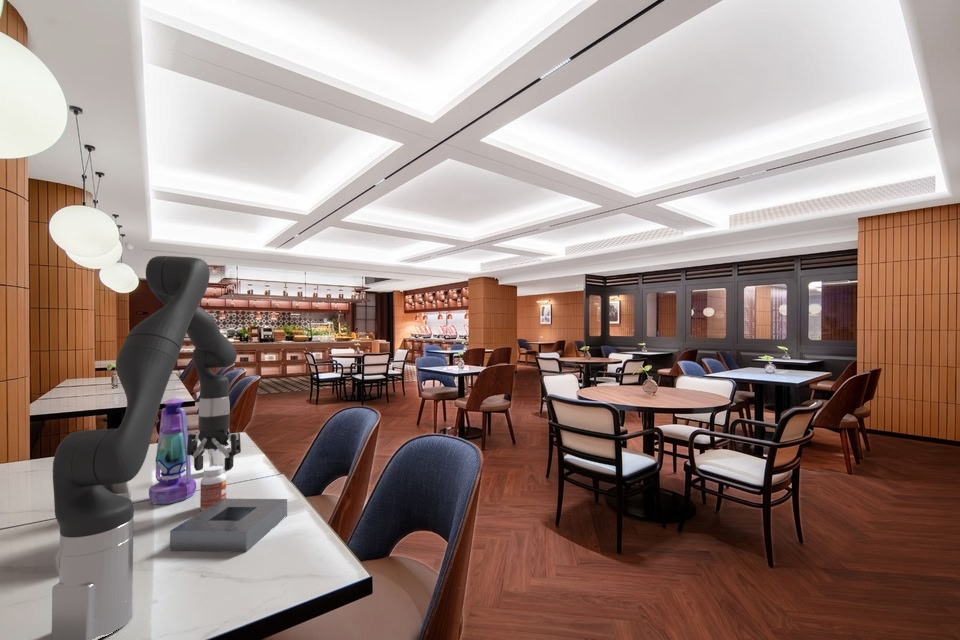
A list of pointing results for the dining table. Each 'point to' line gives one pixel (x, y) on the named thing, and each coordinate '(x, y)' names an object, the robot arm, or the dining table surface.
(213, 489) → the pill bottle
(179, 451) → the lantern
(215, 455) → the beer glass
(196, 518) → the bore housing
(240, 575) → the dining table surface
